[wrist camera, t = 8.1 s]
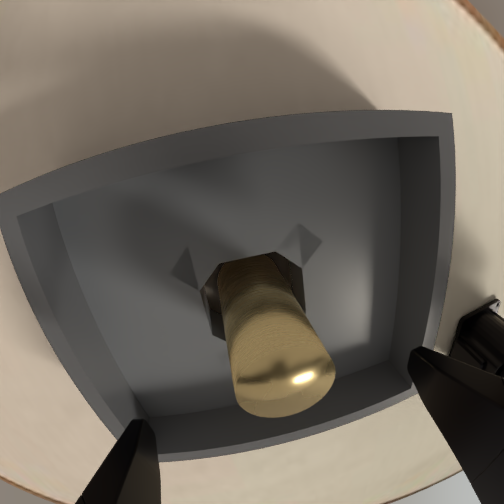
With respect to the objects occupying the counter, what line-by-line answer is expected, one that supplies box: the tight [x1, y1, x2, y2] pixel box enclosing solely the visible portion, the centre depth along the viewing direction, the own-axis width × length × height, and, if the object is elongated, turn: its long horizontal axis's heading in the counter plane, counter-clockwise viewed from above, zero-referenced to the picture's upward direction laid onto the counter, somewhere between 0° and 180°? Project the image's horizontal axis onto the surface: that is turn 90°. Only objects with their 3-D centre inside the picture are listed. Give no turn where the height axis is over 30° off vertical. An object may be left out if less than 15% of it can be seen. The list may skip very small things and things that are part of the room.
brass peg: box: [218, 254, 336, 418], centre depth 13 cm, size 3×3×8 cm
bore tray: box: [0, 110, 456, 462], centre depth 14 cm, size 18×16×6 cm
